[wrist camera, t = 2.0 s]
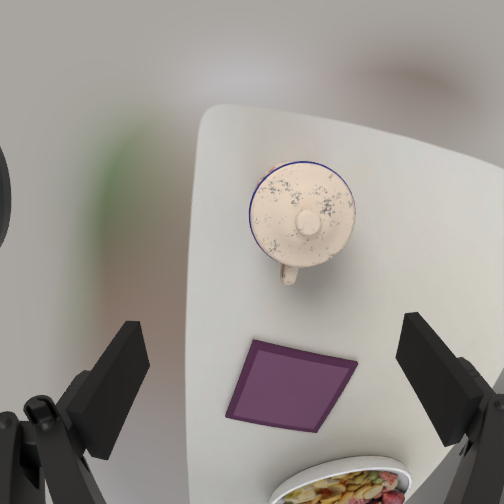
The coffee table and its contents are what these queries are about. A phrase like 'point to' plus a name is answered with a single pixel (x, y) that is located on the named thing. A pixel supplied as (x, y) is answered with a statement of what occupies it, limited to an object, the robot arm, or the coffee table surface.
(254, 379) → the place mat
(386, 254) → the coffee table surface
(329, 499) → the bowl
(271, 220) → the teacup with lid
